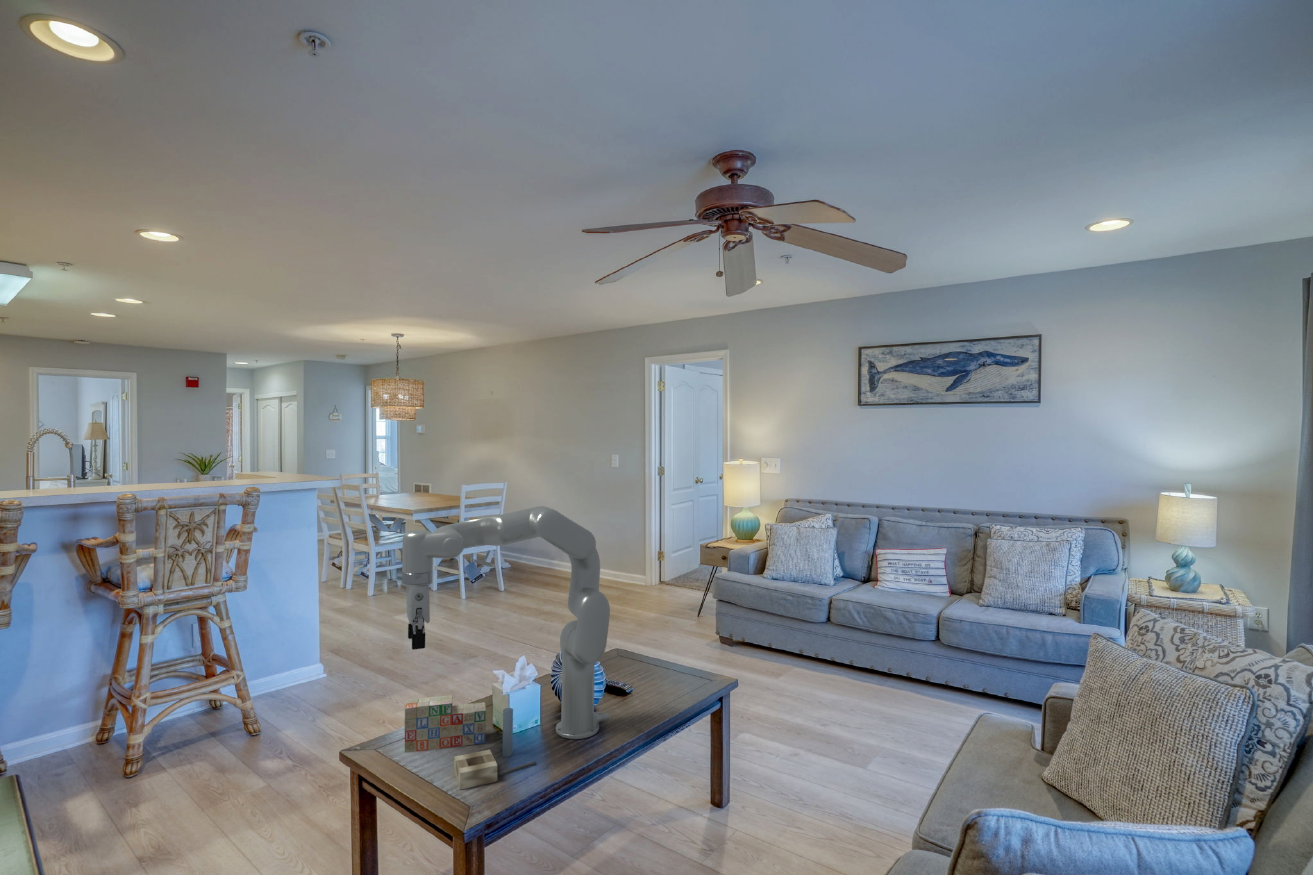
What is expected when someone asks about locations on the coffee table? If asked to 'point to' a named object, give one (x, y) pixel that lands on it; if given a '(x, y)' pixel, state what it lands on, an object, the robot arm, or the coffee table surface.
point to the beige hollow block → (475, 769)
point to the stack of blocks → (443, 724)
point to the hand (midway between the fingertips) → (416, 643)
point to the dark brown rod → (517, 768)
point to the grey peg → (507, 732)
